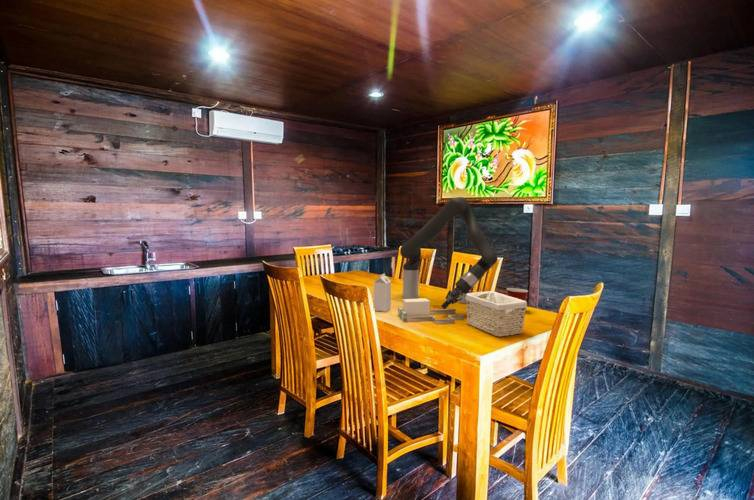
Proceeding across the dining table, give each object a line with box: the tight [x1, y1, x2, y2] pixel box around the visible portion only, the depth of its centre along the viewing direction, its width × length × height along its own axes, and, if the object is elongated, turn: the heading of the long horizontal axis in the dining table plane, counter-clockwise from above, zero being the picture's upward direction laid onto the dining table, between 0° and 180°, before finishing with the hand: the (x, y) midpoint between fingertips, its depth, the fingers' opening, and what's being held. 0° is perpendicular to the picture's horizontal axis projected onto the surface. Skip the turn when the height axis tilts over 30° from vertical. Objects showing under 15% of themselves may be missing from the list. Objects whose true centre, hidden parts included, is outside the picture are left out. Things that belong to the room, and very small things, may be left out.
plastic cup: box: [506, 287, 529, 301], centre depth 203 cm, size 11×11×12 cm
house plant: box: [457, 276, 476, 304], centre depth 221 cm, size 14×14×16 cm
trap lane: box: [397, 306, 465, 325], centre depth 192 cm, size 23×30×4 cm
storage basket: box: [465, 290, 528, 337], centre depth 174 cm, size 24×16×15 cm
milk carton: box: [373, 272, 392, 313], centre depth 204 cm, size 7×7×19 cm
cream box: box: [402, 297, 431, 317], centre depth 190 cm, size 6×12×9 cm, turn 100°
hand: (442, 307), depth 193 cm, fingers closed
